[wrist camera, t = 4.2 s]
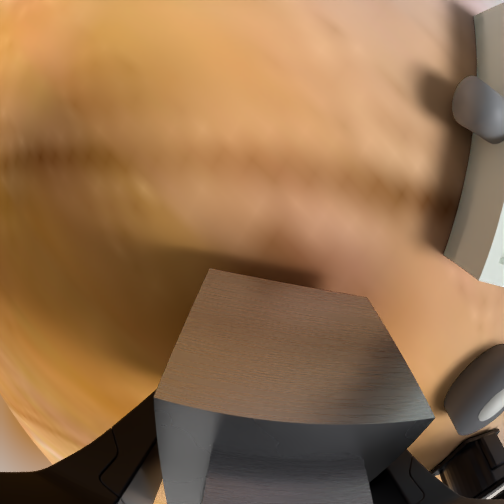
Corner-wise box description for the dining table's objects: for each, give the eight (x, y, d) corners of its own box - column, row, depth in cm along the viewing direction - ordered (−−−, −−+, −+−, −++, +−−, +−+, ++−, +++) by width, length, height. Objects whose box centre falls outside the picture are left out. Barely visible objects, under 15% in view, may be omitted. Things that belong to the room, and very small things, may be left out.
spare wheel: (479, 406, 13) (492, 428, 11) (428, 415, 13) (441, 444, 11) (521, 343, 11) (541, 364, 9) (478, 343, 11) (501, 371, 9)
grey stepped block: (303, 427, 11) (313, 548, 5) (192, 411, 11) (162, 535, 5) (366, 297, 8) (456, 463, 3) (209, 268, 8) (129, 460, 2)
